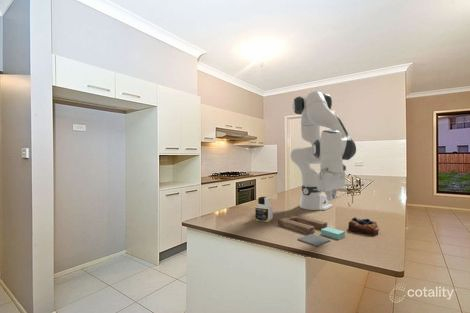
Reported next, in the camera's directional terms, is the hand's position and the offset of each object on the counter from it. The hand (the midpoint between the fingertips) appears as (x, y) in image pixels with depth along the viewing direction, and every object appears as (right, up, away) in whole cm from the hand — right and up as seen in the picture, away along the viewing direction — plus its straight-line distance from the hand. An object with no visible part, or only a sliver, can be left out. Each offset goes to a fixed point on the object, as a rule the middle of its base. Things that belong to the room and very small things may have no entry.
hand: (331, 199), depth 102 cm
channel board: (-9, -15, +13) cm, 22 cm away
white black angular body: (-26, -16, +25) cm, 39 cm away
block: (0, -16, 0) cm, 16 cm away
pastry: (+17, -15, +6) cm, 24 cm away
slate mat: (-10, -16, -6) cm, 19 cm away
